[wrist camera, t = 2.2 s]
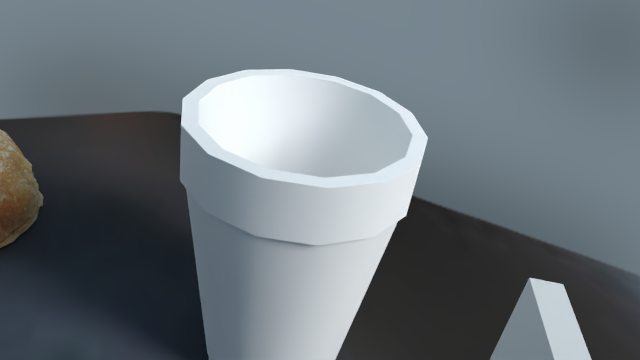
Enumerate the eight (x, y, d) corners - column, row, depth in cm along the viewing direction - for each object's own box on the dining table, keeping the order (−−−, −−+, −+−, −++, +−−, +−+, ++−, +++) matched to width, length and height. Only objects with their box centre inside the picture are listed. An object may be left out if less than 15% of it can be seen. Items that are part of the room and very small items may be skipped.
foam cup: (197, 458, 24) (213, 200, 17) (158, 300, 31) (158, 71, 24) (396, 401, 27) (476, 172, 20) (322, 272, 34) (363, 68, 27)
